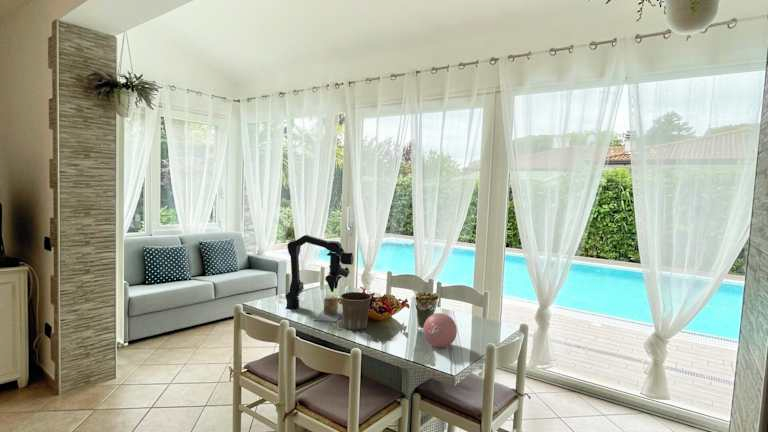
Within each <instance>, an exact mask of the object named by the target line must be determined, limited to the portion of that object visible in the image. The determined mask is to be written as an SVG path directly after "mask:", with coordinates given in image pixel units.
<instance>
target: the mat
mask: <svg viewBox="0 0 768 432" xmlns="http://www.w3.org/2000/svg"><path fill="white" fill-rule="evenodd" d="M341 316H343V311H338V313H337V314H336V315H329V314H324V309H323V310H321V311H320V313H319V314H318V315H317V316H316V317H315V318H314V319H313V321H314V322H323V323H324V322H326V323H337V322H338V320H339V319H340V318H341Z"/></svg>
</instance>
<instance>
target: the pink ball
mask: <svg viewBox="0 0 768 432" xmlns="http://www.w3.org/2000/svg"><path fill="white" fill-rule="evenodd" d="M422 327H423V328H422V331H423V332H422V333H423V336H424V338H425V340H426V342H427V343H428V344H429V345H431V346H432V347H436V348H438V349H439V348H447V347H449V346H450V345H452V344H453V342H454V341H455V340H456V337H457V335H458V333H457V332H458V329H457V324H456V323H455V320H454V319H453V318H452V317H451V316H450V315H448V314H446V313H442V312H438V313H434V314H431V315H429V316H428V317H427V319H426V320H425V322H424V324H423V326H422Z"/></svg>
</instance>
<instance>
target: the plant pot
mask: <svg viewBox="0 0 768 432" xmlns="http://www.w3.org/2000/svg"><path fill="white" fill-rule="evenodd" d="M340 298H341V305H342V312H343V313H342V318H343V319H342V322H343V324H342V325H343V327H344V328H345V329H346V330H352V331H358V330H365V329H366V328H367V327H368V317H369V311H370V306H371V302H372V301H371V300H372V298H373V297H372V295H371V294H369V293H366V292H359V291H358V292H357V291H353V292H352V291H349V292H345V293H342V294H340Z"/></svg>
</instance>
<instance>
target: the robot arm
mask: <svg viewBox="0 0 768 432" xmlns="http://www.w3.org/2000/svg"><path fill="white" fill-rule="evenodd" d="M306 243H307V244H311V245H314V246H317V247H318V246H319V247H322V248H325V249H326V250H327V251H328V253H327V254H326V256H328V257H329V256H330V257H329V266H328V268H329V272H328V274H327V275H326V276H325V277H324V278H325V279H324V280H325V282H326V284H327V285H328V287H329V289H330V292H331V293H334V290H335V289H336V290H337V289H338V286H339V282H340V279H342V277H344V278H348V277H349V275H350V273H351V272H350V271H351V270H350V269H349V267H347V266H346V267H345V268H344V267H342V265H354V255H353V254H354V253H353V252H346V251H345V250H344V248H343V247H342V244H341V242H340V241H336V240H335V241H334V240H326V239H321V238H318V237H315V236H310V235H309V234H305V235H303V236H301V237H299V238H297V239H295V240H292V241H289V242H288V243H287V245H286V246H287V251H288V255H289V256H290V269H291V270H290V271H291V274H290V275H291V282H290V285H289V291H288V293H286V294H285V299H286V307H285V309H289V310H297V309H299V308H300V299H299V298H300V297H299V296H300V294H301V293H302V292H303V290H304V288H305V287H304V281H301V279H300V277H301V276H300V260H299V259H300V257H299V256H300V252H301V246H303V245H305V244H306ZM341 264H342V265H341Z"/></svg>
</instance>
